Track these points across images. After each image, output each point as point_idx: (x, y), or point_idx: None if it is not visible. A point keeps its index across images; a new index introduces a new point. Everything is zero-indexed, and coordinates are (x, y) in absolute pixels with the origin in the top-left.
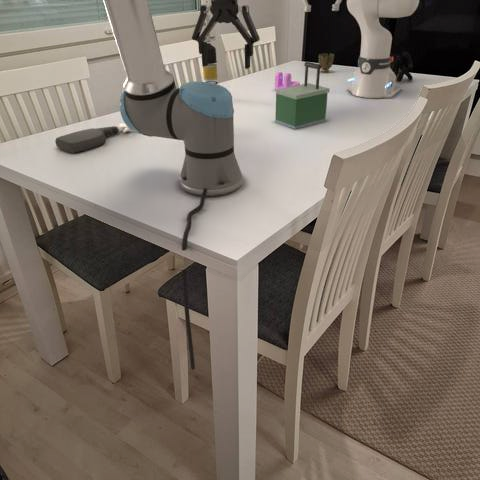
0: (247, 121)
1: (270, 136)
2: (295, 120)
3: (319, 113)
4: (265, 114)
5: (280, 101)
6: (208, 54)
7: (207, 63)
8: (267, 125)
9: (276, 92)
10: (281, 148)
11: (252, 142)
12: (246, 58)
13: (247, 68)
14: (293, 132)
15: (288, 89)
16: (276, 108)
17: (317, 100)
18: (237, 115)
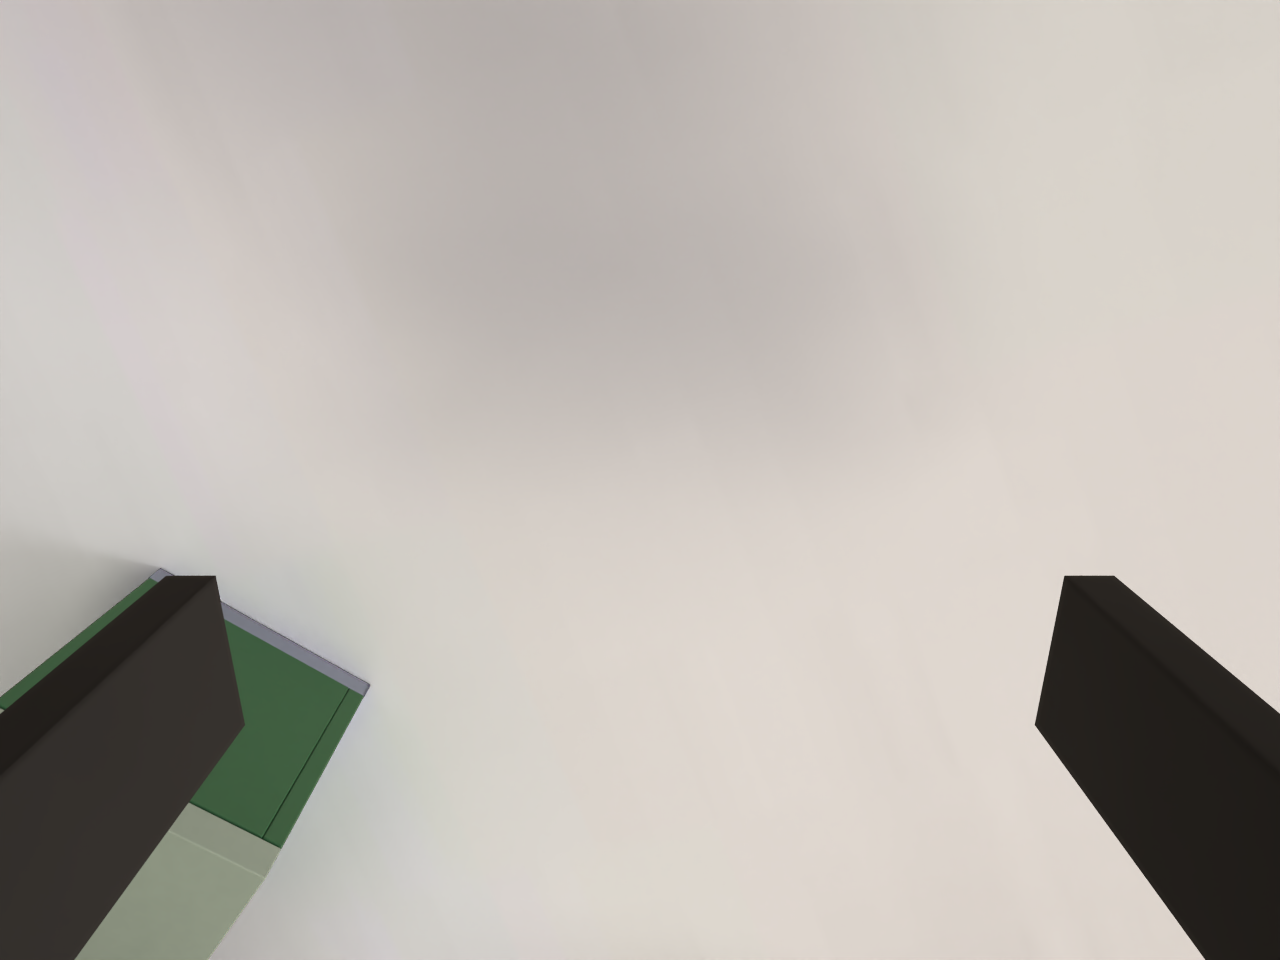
0: (579, 645)
1: (263, 357)
2: (118, 603)
3: None
4: (509, 821)
5: (245, 771)
6: None
7: (1053, 722)
8: (395, 598)
9: (271, 853)
10: (48, 93)
11: (338, 168)
12: (58, 687)
13: (162, 583)
14: (138, 498)
15: (152, 906)
16: (323, 748)
17: None
18: (706, 753)
